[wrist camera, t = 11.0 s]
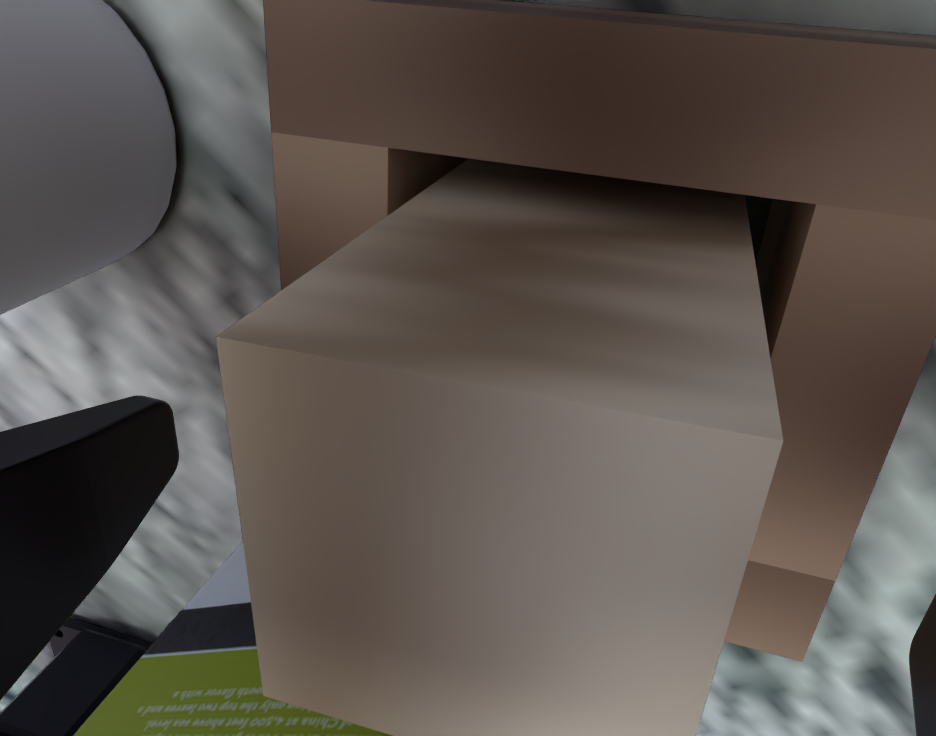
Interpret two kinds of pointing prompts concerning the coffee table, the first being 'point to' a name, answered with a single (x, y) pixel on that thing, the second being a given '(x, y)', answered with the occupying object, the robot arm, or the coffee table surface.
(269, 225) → the coffee table surface
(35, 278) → the cup
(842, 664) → the coffee table surface
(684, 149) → the socket block
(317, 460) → the peg
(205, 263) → the coffee table surface
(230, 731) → the tea box
